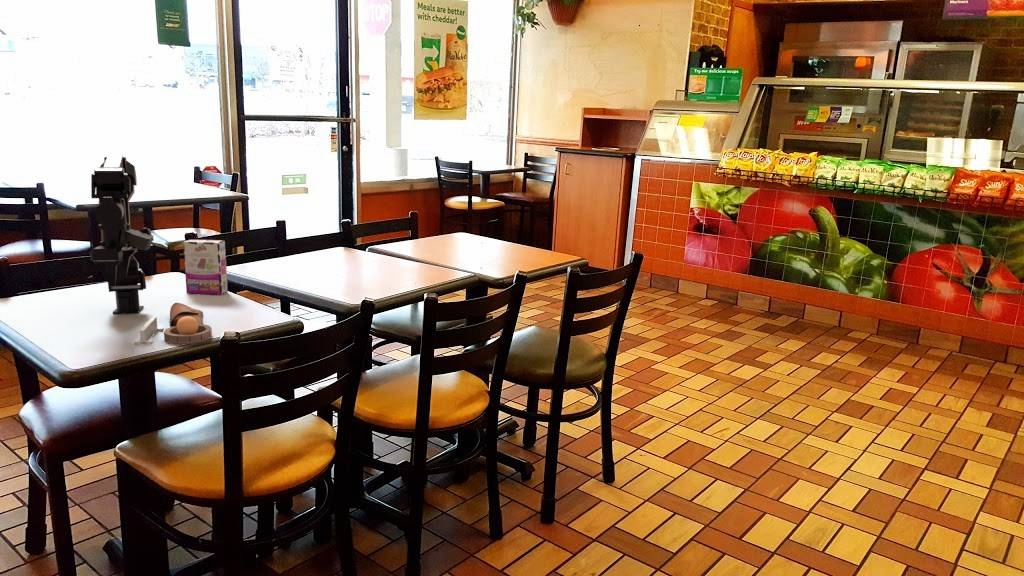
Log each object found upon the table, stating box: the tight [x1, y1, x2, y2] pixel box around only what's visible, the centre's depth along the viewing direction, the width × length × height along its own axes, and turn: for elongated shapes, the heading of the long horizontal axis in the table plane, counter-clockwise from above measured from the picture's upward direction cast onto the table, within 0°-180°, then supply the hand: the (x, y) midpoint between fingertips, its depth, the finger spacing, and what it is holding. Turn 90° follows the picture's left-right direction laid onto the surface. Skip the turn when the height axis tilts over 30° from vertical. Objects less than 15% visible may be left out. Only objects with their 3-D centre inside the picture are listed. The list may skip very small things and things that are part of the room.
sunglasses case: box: [169, 302, 204, 328], centre depth 201 cm, size 18×7×7 cm
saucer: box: [163, 323, 213, 345], centre depth 189 cm, size 11×11×2 cm
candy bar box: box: [182, 239, 229, 296], centre depth 231 cm, size 11×5×16 cm, turn 88°
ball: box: [177, 316, 198, 335], centre depth 189 cm, size 5×5×5 cm
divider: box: [133, 316, 165, 345], centre depth 189 cm, size 12×4×4 cm, turn 11°
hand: (118, 281), depth 189 cm, fingers open, 9 cm apart
